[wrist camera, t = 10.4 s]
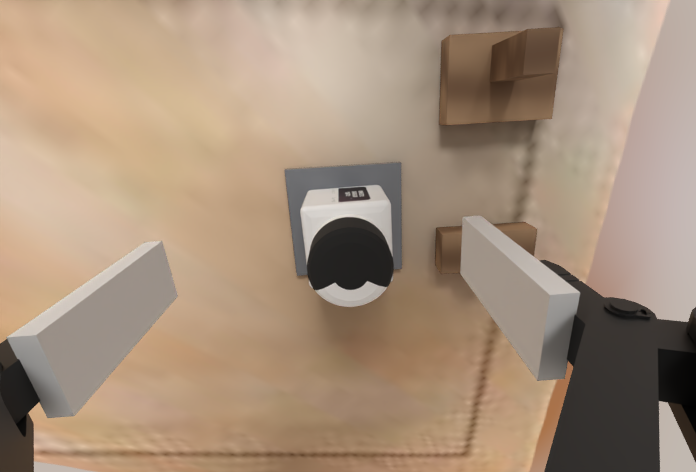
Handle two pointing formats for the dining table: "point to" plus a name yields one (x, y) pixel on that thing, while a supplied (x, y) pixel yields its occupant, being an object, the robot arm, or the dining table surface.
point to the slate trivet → (341, 177)
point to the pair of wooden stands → (495, 102)
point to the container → (348, 243)
